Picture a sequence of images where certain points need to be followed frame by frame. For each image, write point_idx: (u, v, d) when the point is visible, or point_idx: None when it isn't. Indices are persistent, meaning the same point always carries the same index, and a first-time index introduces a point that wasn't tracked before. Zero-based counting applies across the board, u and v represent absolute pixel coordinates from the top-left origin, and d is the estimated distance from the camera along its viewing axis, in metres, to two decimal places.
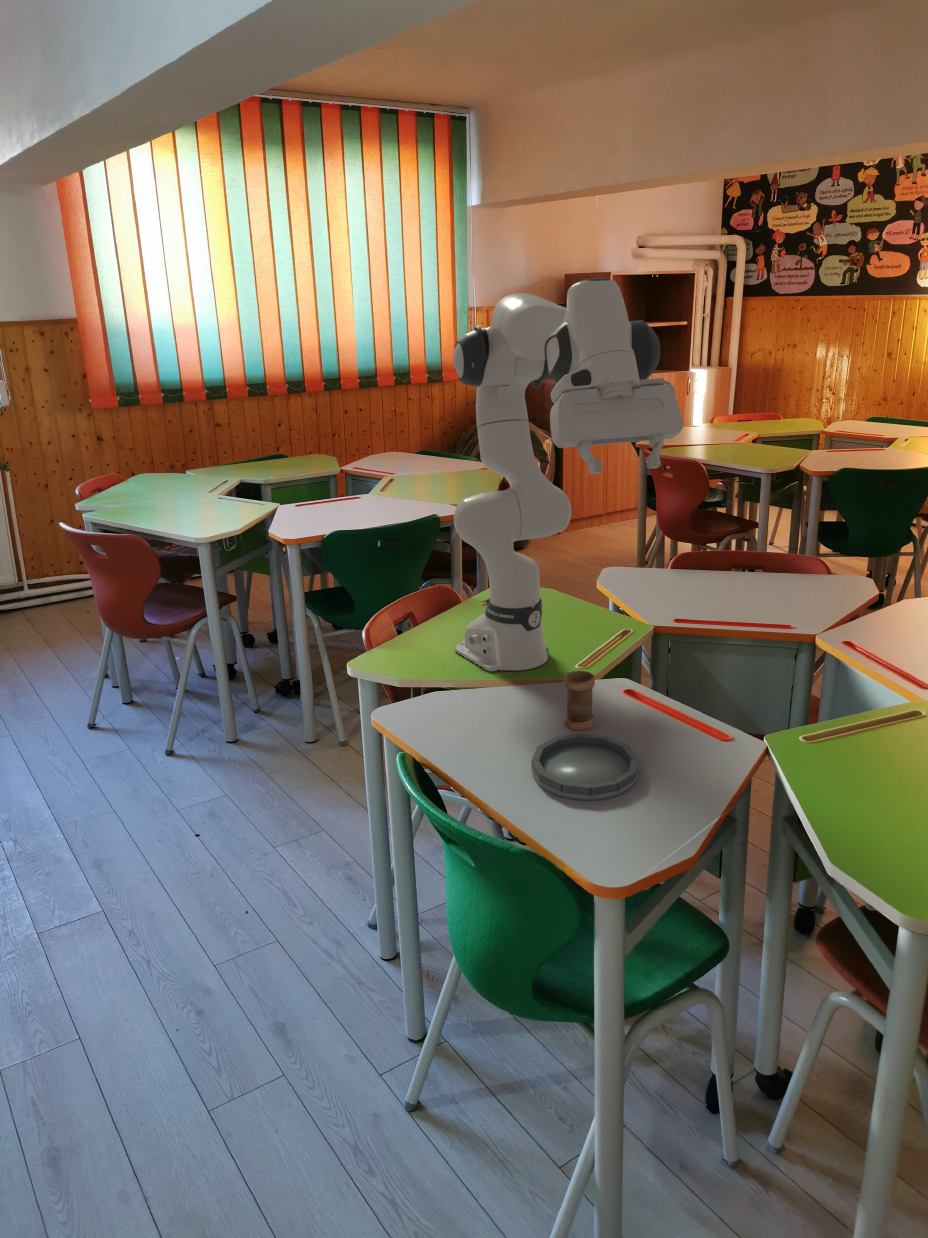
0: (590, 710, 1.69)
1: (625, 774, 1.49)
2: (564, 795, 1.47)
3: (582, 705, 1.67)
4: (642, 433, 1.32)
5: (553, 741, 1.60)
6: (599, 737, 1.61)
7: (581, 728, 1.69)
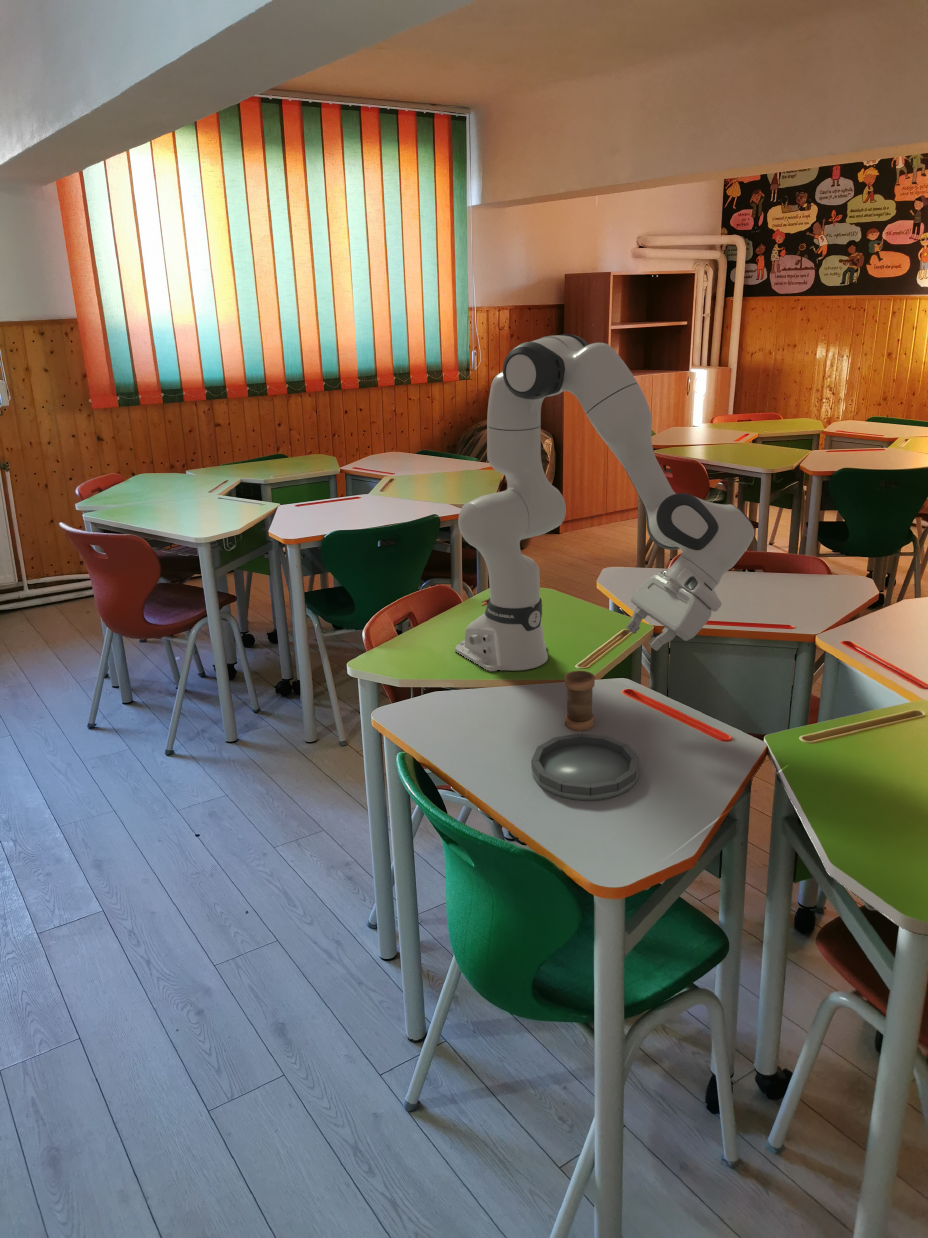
0: (590, 710, 1.69)
1: (625, 774, 1.49)
2: (564, 795, 1.47)
3: (582, 705, 1.67)
4: (655, 619, 1.71)
5: (553, 741, 1.60)
6: (599, 737, 1.61)
7: (581, 728, 1.69)
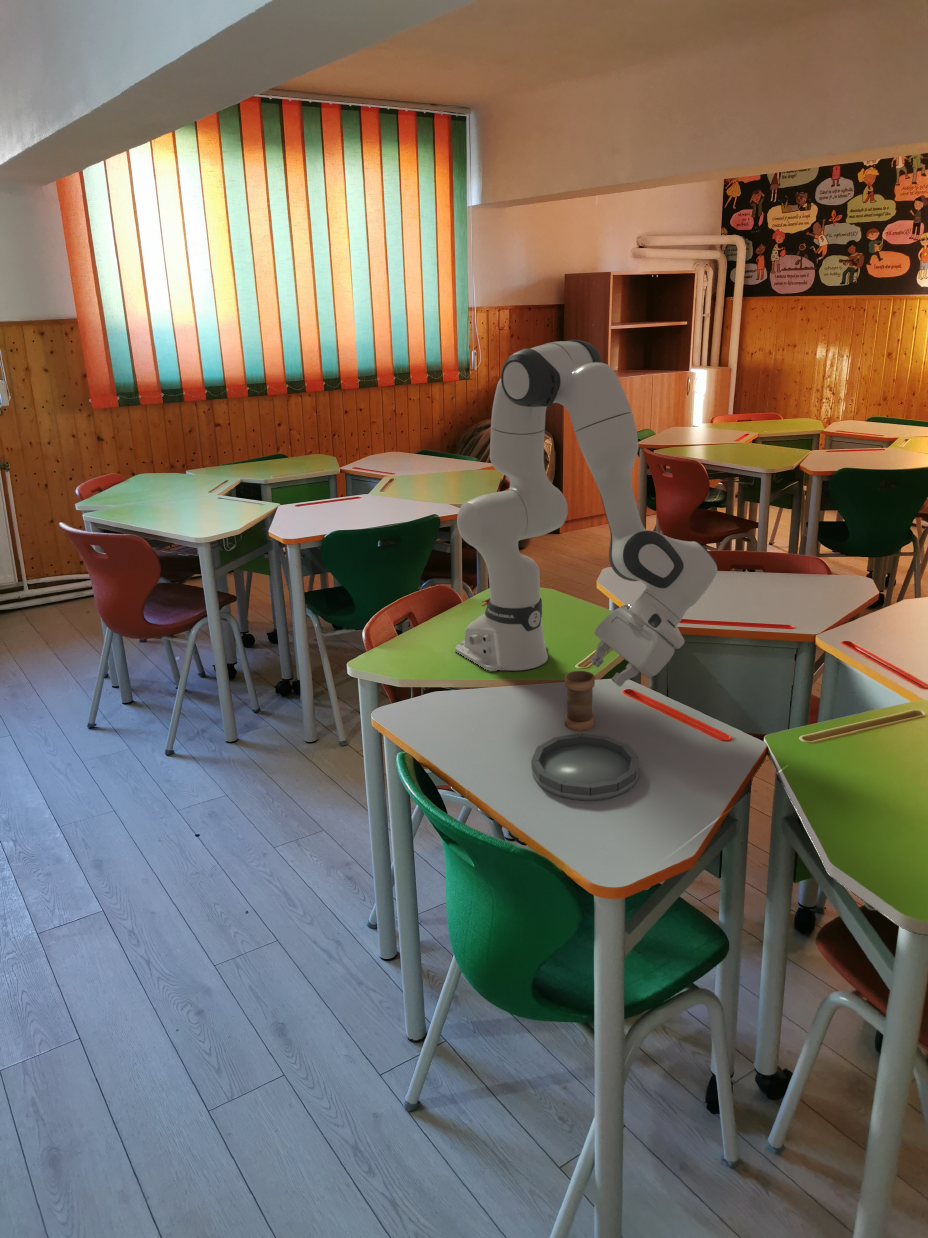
0: (590, 710, 1.69)
1: (625, 774, 1.49)
2: (564, 795, 1.47)
3: (582, 705, 1.67)
4: None
5: (553, 741, 1.60)
6: (599, 737, 1.61)
7: (581, 728, 1.69)
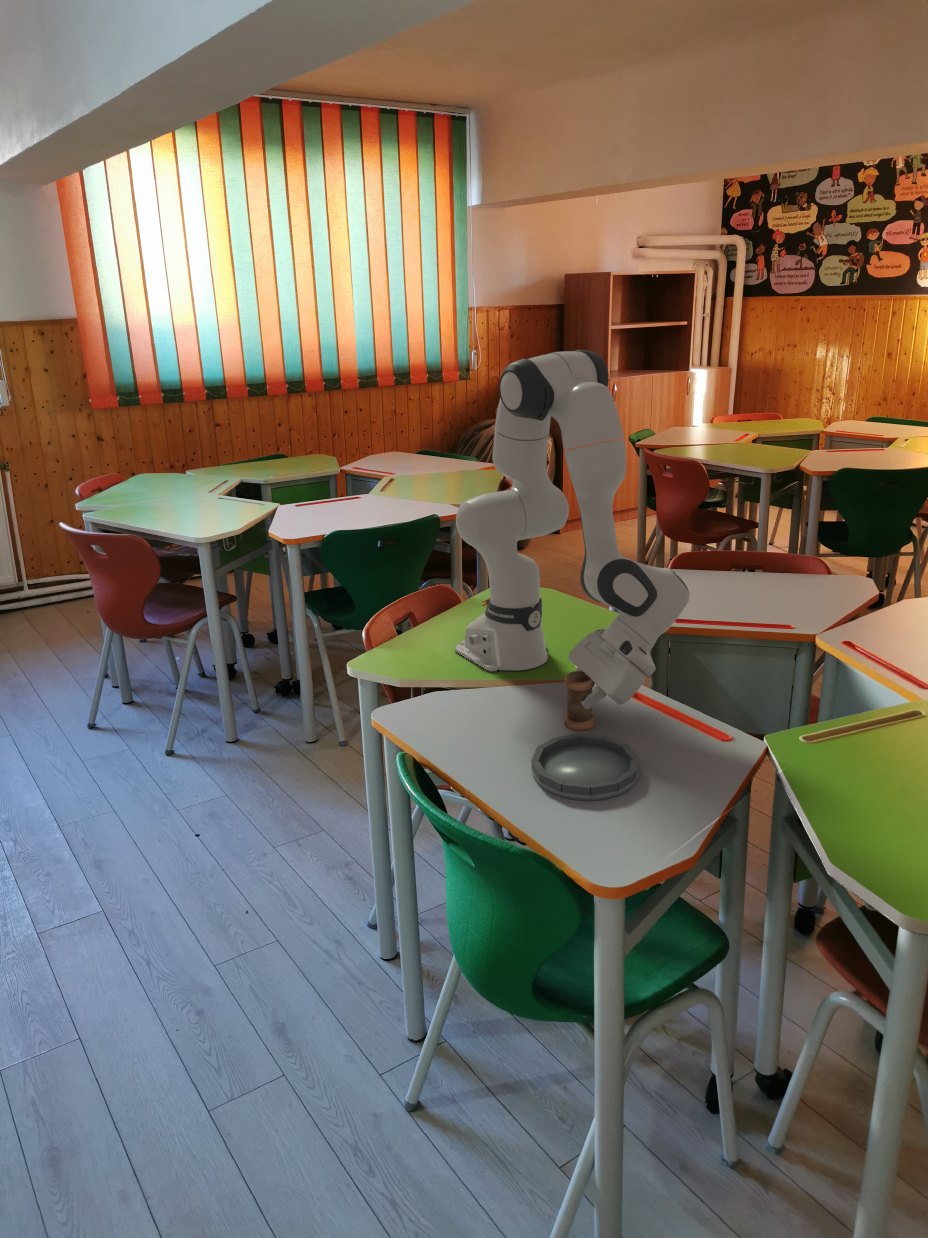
0: (590, 710, 1.69)
1: (625, 774, 1.49)
2: (564, 795, 1.47)
3: None
4: None
5: (553, 741, 1.60)
6: (599, 737, 1.61)
7: (581, 728, 1.69)
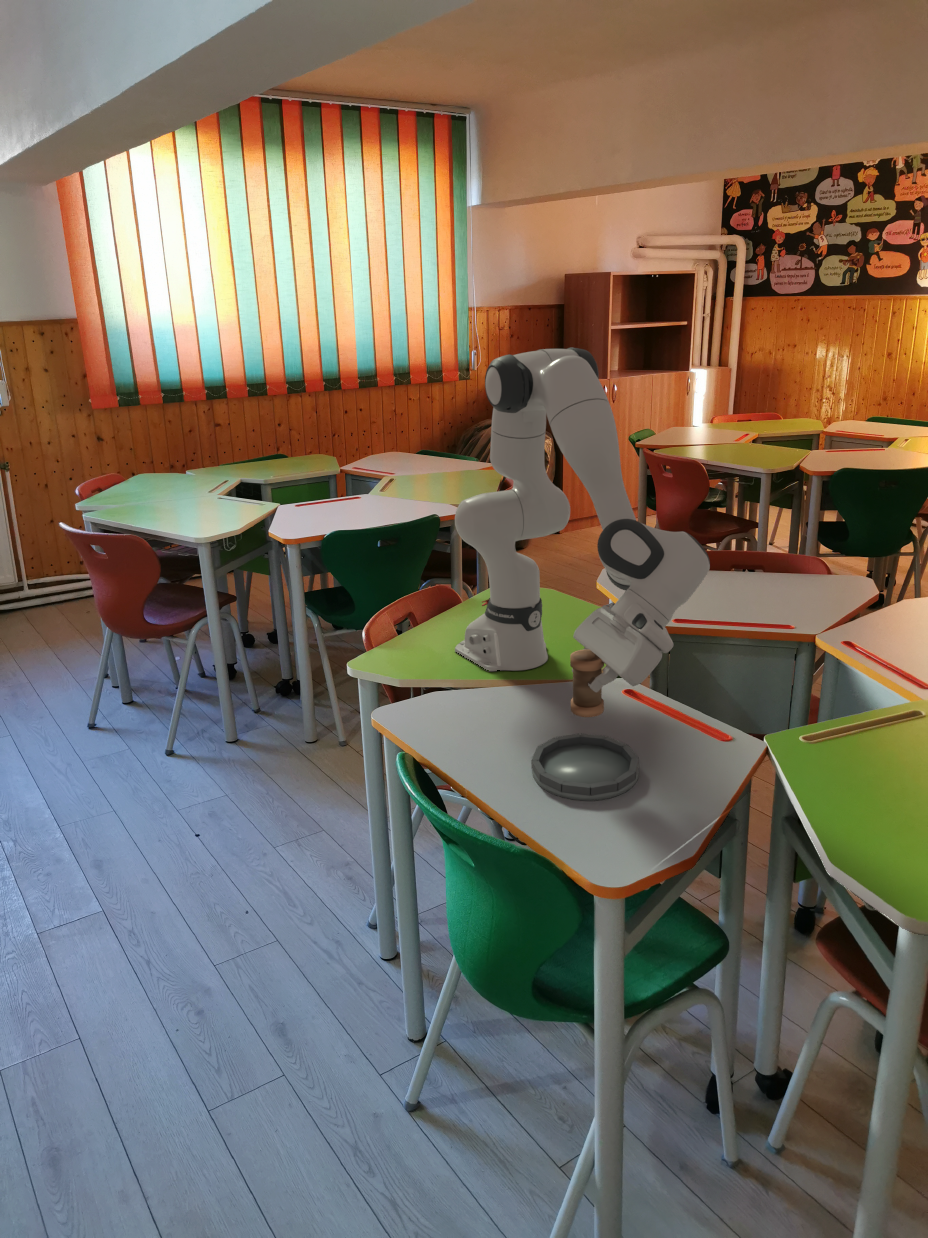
0: (599, 694, 1.49)
1: (625, 774, 1.49)
2: (564, 795, 1.47)
3: (590, 688, 1.47)
4: None
5: (553, 741, 1.60)
6: (599, 737, 1.61)
7: (589, 714, 1.49)
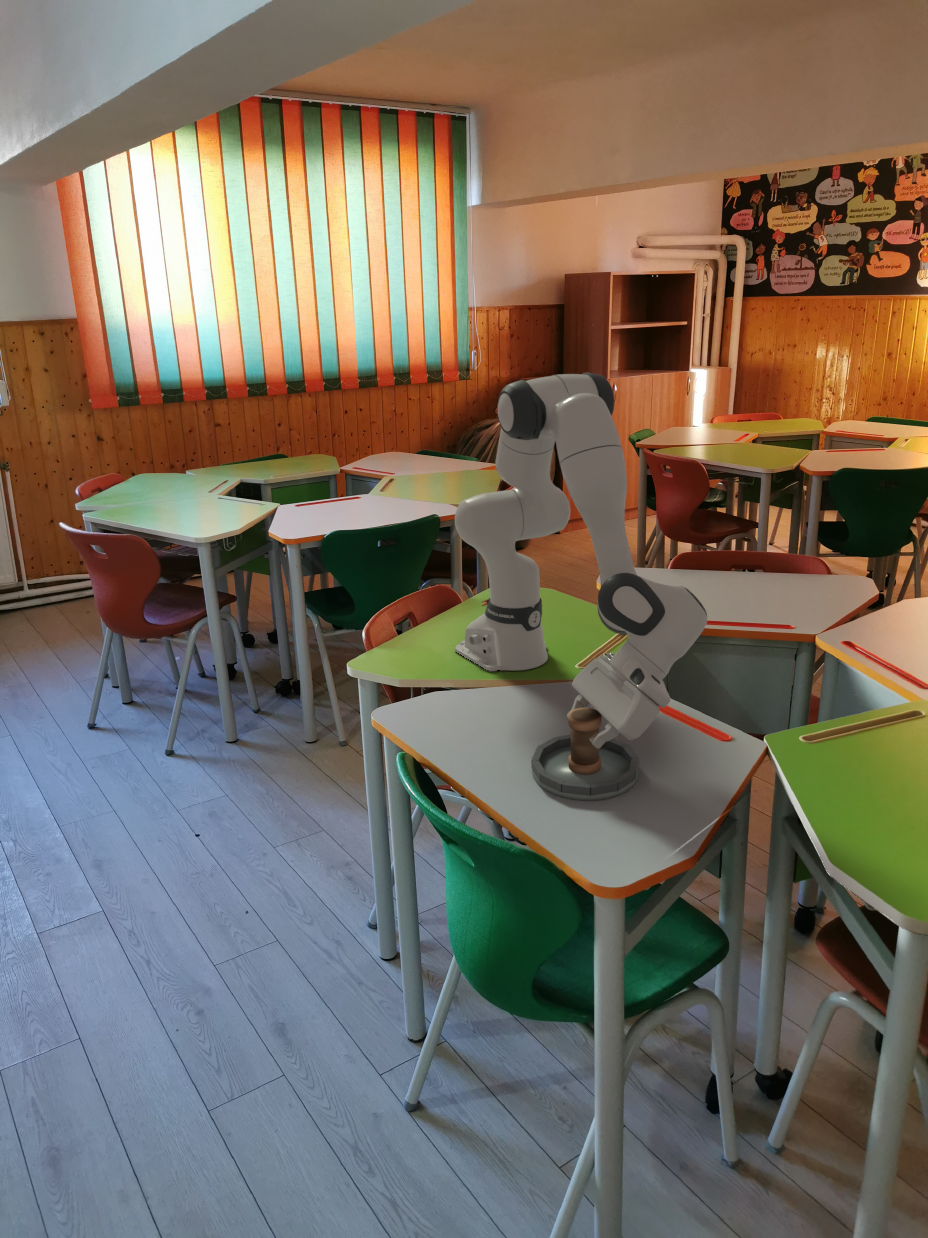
0: (596, 752, 1.52)
1: (625, 774, 1.49)
2: (564, 795, 1.47)
3: (588, 747, 1.50)
4: None
5: (553, 741, 1.60)
6: None
7: (586, 772, 1.52)
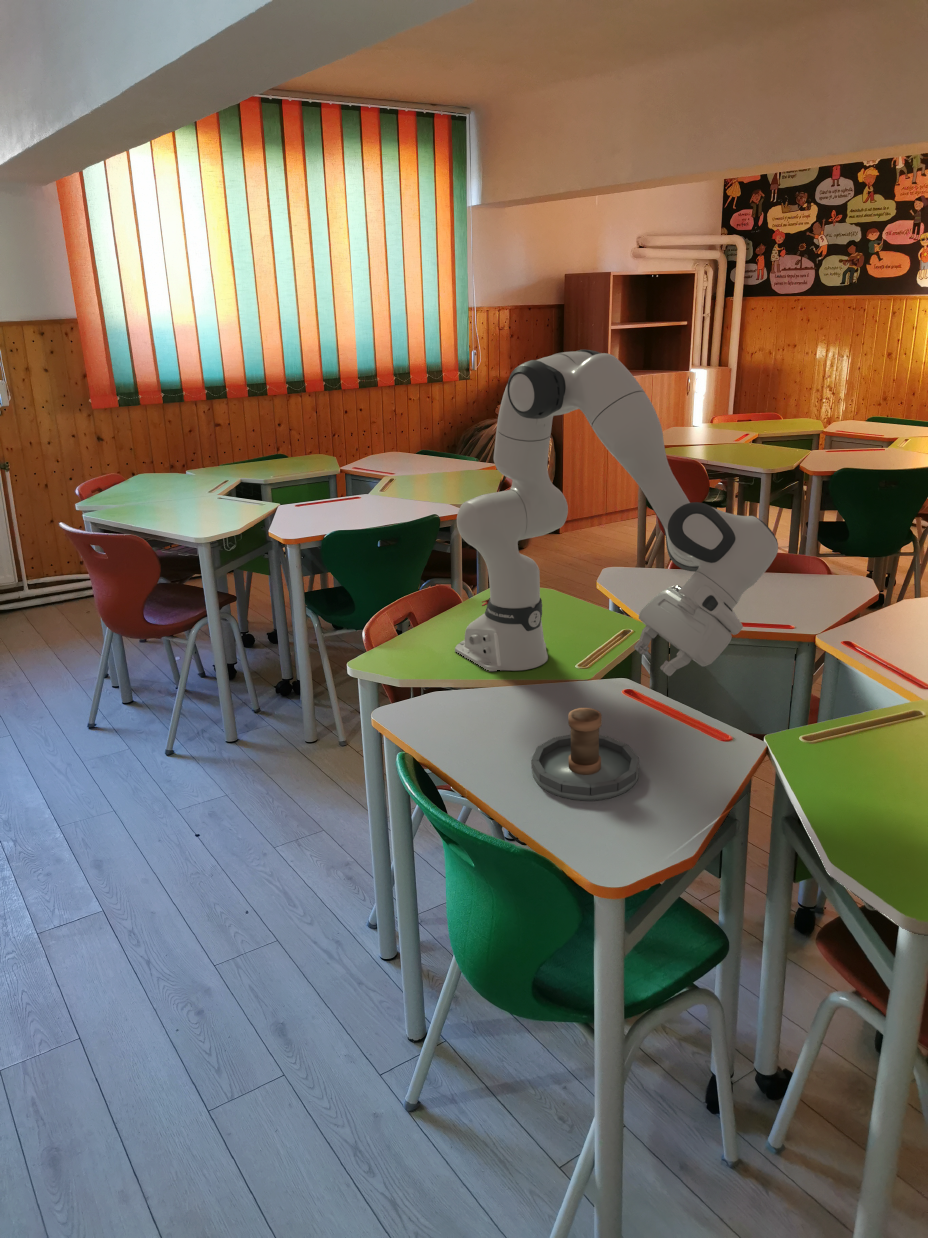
0: (596, 752, 1.52)
1: (625, 774, 1.49)
2: (564, 795, 1.47)
3: (588, 747, 1.50)
4: (666, 639, 1.56)
5: (553, 741, 1.60)
6: (599, 737, 1.61)
7: (586, 772, 1.52)
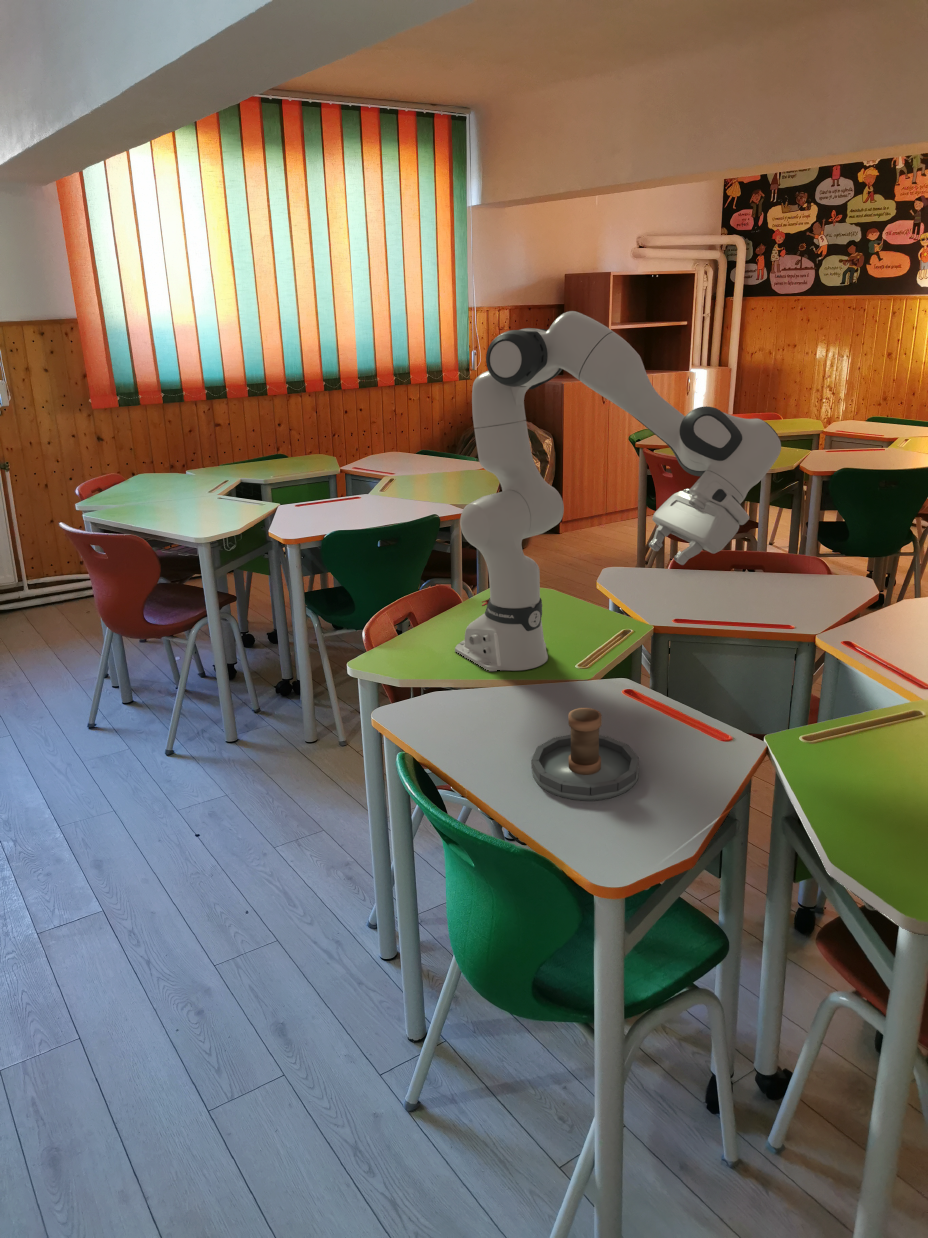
0: (596, 752, 1.52)
1: (625, 774, 1.49)
2: (564, 795, 1.47)
3: (588, 747, 1.50)
4: (678, 536, 1.69)
5: (553, 741, 1.60)
6: (599, 737, 1.61)
7: (586, 772, 1.52)
